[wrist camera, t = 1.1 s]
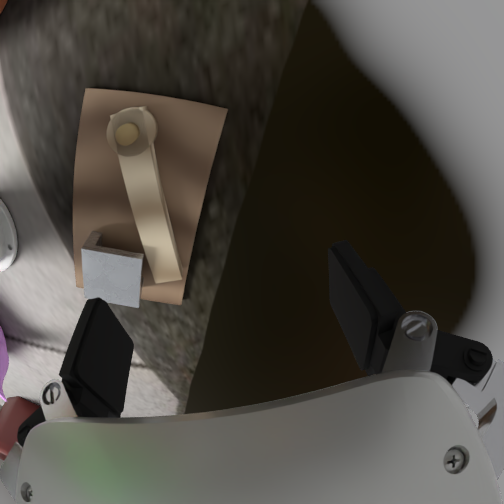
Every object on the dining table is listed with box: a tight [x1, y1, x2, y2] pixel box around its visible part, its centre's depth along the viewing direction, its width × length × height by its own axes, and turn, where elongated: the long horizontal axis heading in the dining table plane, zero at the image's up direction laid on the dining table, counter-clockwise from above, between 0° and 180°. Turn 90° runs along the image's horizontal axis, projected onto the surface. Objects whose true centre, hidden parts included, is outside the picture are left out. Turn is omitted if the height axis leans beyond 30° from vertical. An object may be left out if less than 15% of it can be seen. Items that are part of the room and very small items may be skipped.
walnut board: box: [73, 88, 228, 305], centre depth 27 cm, size 24×14×1 cm, turn 163°
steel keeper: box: [81, 231, 144, 308], centre depth 28 cm, size 6×6×4 cm
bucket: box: [0, 396, 40, 460], centre depth 39 cm, size 24×22×25 cm
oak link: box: [107, 106, 183, 284], centre depth 25 cm, size 18×4×3 cm, turn 5°
